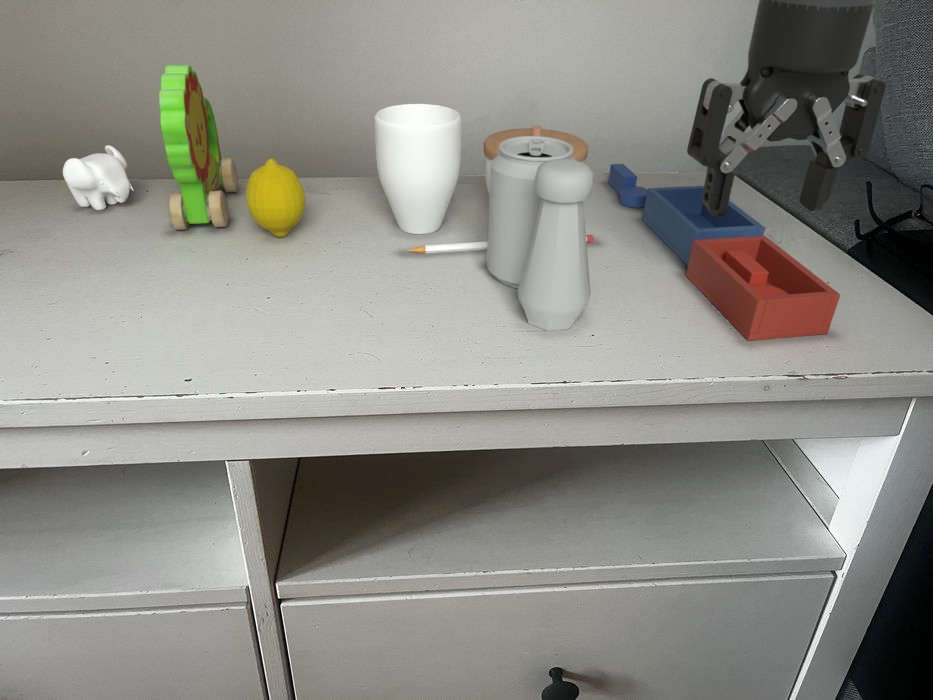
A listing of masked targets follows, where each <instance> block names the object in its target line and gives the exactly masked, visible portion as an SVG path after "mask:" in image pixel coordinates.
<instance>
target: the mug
mask: <svg viewBox="0 0 933 700" xmlns="http://www.w3.org/2000/svg"><path fill="white" fill-rule="evenodd" d="M373 121H374V126H373V127H374V143H375V162H376V170H377V175H378V179H379V182H380V185H381V187H382V190H383V193H384V195H385V197H386V199H387V202H388V204H389V207H390V209H391V211H392V214H393V216H394V219H395V221H396V223H397V226H398V228H399V229H400V230H401V231H402V232H405V233H407V234H410V235H428V234H432V233H434V232H437V231H439V230H440V228H441V227H442V224H443V221H444V218H445V217H446V213H447V211H448V208H449V206H450V203H451V200H452V198H453V196H454V192H455V189H456V187H457V183H458V180H459V176H460V171H461V161H462V160H461V158H462V118H461V114H460V113H459V112H458V111H457V110H455V109H453V108H451V107H448V106H443V105H437V104H431V103H430V104H427V103H406V104H397V105H396V104H395V105H390V106H387V107H384V108H382V109H380V110H378V111H377V112H376V113H375V115H374V120H373Z"/></svg>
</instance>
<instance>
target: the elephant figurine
mask: <svg viewBox="0 0 933 700" xmlns="http://www.w3.org/2000/svg"><path fill="white" fill-rule="evenodd" d="M104 151H105V152H106V153H100V152H98V153H91V154H88V155H87V156H84V157H81V158H77V157H72V158H68V159H67V160H66V161H65V162H64V165H63V167H62V176H63V178H64V181H65V183H66V185H67V188H68V189H69V191H70V193H71V194H72V197H73V198H74V200H75V202H76V203H77V204H78V206H79V207H81V208H88V207H90V206H91V207H92V208H93V210H96V211H103V210H105V209H106V208H107V204H108V205H111V206H112V205H117V204H118V203H119V204H121V203H125V202H126V201H127V200H128V198H129V195H130V190H132V191H133V192H134V191H135V190H134V188H133V187H132V183H131V181H130V179H129V178H128V175H127V172H128V171H127V170H128V163H127V160H126V158H125V156H123V154H122V153H121V152H120V151H119V150H118V149H116V148H115V147H114V146H112V145H105V146H104Z"/></svg>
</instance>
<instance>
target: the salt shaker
mask: <svg viewBox="0 0 933 700" xmlns="http://www.w3.org/2000/svg"><path fill="white" fill-rule="evenodd" d="M594 181H595V179H594V171H593V170H592V169H591V168H590V167H589V166H588V165H587V164H586V162H585V163H582V162H579V161H575V160H569V159H554V160H548V161H546V162H544V163H542V164H541V165H540V166H539V167H538V169H537V172H536V176H535V184H534V188H535V192H536V194H537V195H538V196H539V197H541V202H540V206H539V210H538V214H537V218H536V222H535V226H534V230H533V234H532V238H531V242H530V246H529V250H528V254H527V258H526V262H525V266H524V270H523V274H522V277H521V281H520V285H519V288H517V299H518V301H519V302H520V305H521V306H522V308H523V311H524V314H525V316H526V319H527V322H528V324H529V325H531V326H534V327H536V328H539V329H541V330H544V331H546V332H552V331H554V332H555V331H563V330H570V328H571V327H572V326H573V324H574V323H575V321H576V320H577V318H579V316H580V315H581V314H582V313H583V312H584V310H585V309H586V308H587V306H588V304H589V301H590V296H591V283H590V270H589V258H588V245H587V244H588V243H586V235H587V233H586V220H585V219H586V218H585V207H584V206H585V205H584V201H585V200H587V199H589V198H590V197H591V194H592V191H593V186H594Z"/></svg>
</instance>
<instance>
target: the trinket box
mask: <svg viewBox="0 0 933 700" xmlns="http://www.w3.org/2000/svg"><path fill="white" fill-rule="evenodd" d="M520 136H543V137H551V138H555V139H560V140H562V141H565V142H567V143H569V144H570V145H571V146H572V147H573V149H574V152H573V154H572V156H573V157H574V159H575V160H576V161H579V162H582V163H585V164H586V161H587V160H586V159H587V158H588V153H589V146H588V144H587V142H586V141H585V140H583V139H582V138H580V137H579V136H576V135H574V134H571V133H567V132H564V131H560V130H553V129H546V128H543V126H542V125H532V126H531V127H530V128H528V127H527V128H525V127H524V128H511V129H505V130H501V131H497V132H494V133H492V134H489V135H488V136H487V137H486V138H485V139H484V141H483V147H482V148H483V149H482V150H483V154H484V157H483V171H484V180H485V186H486V189H487V193H489V191H490V164H491V161H492V160H493V158H494V157H495V156H496V155H497V154H498V153H499V152H500V150H499V144H500V143H501V142H502V141H504V140H507V139H509V138H514V137H520Z"/></svg>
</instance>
